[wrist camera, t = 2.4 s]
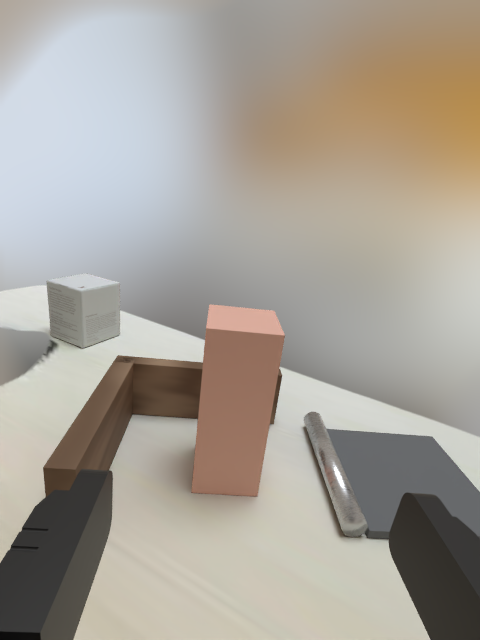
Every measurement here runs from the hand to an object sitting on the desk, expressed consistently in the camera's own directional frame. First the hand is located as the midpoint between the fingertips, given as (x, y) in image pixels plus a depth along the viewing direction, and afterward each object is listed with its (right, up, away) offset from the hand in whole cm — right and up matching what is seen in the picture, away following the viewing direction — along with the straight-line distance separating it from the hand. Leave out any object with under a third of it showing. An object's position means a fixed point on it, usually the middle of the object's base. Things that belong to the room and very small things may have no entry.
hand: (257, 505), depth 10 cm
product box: (-20, +3, +36) cm, 41 cm away
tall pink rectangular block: (-2, -6, +16) cm, 17 cm away
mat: (+12, -7, +17) cm, 23 cm away
